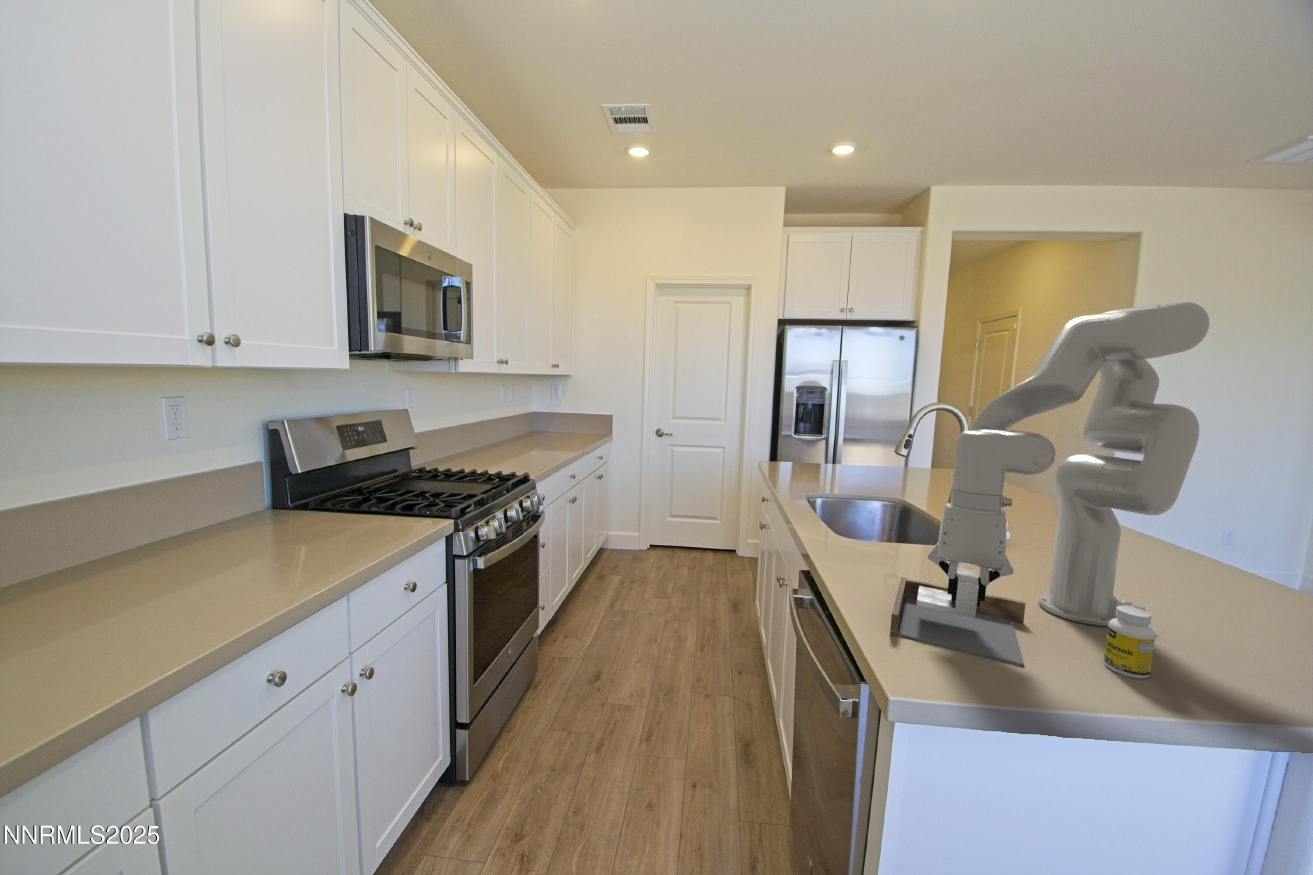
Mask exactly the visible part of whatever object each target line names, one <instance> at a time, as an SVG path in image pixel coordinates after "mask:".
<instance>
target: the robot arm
mask: <svg viewBox="0 0 1313 875" xmlns="http://www.w3.org/2000/svg"><path fill="white" fill-rule="evenodd" d="M1209 328H1210V318H1209V314H1208V313H1207V311H1206V310H1205V308H1204V307H1202V305H1200V304H1198V303H1195V302H1190V301H1183V302H1175V303H1174V302H1173V303H1172V302H1171V303H1165V304H1157V305H1156V304H1155V305H1149V306H1146V305H1145V306H1136V307H1135V306H1134V307H1128V308H1120V309H1115V310H1110V311H1106V312H1101V313H1094V314H1086V315H1082V316H1078V317H1075V318H1073V319H1070V320H1069V321H1067V323H1065V324H1063V327H1061V329H1060V331H1059V332H1058V333H1057V334H1056V336H1055V338H1054V339H1053V342H1051V344H1050V346H1049V348H1047V350H1046V352H1045V353H1044V355H1043V356H1042V358H1041V359H1040V361H1039V363H1038V364H1037V365H1036V367H1035V369H1034V370H1033V372H1032V373H1031V375H1030V376H1029V377H1028V378H1027V379H1025V380H1024V381H1021V382H1020V383H1018V384H1016V385H1015V386H1013V387H1012V388H1009V389H1008V390H1006V392H1003V393H1002V394H1001V395H999V396H998V397H996V398H994V399H993V400H992V401H990V402H989V403H988V404H987V405H986V406H984V408H983V409H981V411H980V412H979V414H978V415H977V417H976V418H975V419H974V421H973V423H972V424H971V425H970V427H969V429H968V430H965V431H961V432H960V433H959V435H958V437H957V440H956V441H957V442H956V448H955V460H954V468H953V477H952V478H953V479H952V489H951V496H950V503H946V504H945V505H944V506H945V507H944V508H943V513H942V515H941V520H940V527H939V533H938V540H937V543H936V544H935V545H934V547H932V549H930V551H929V553H928V554H927V558H928V560H929V561H931V562H932V563H934V564H935V565H937V566H939V567H940V569H941V570H942V571H943V572H944V573H945V574H946V576H947V577H948V583H947V587H948V591H947V594H951V601H956V593H957V583H958V577H957V570H958V568H959V564H960V565H961V564H962V565H968V566H973V567H978V568H979V577H978V583H979V588H978V597H977V606H978V607H980V601H985V594H986V590H987V586H988V585H989V584H990V583H992V582H994V581H995V580H997V579H999V578H1000V577H1001V578H1002V577H1007V576H1011V575H1013V574H1014V573H1015V571H1014V569H1013V566H1012V564H1011V562H1010V560H1009V558H1008V556H1007V553H1006V552H1007V517H1006V512H1005V510H1002V508H1004V507H1012V505H1013V498H1009V497H1006V496H1004V495H1003V493H1004V486H1005V475H1006V473H1011V474H1018V475H1023V476H1033V475H1038V474H1042V473H1045V472H1046V471H1047V470H1049V469H1050V468H1051V466H1052V465H1053V464H1054V462H1055V460H1056V452H1057V451H1056V448H1055V446H1054V444H1053V442H1052V441H1051V440H1050V439H1049V438H1047V437H1045V435H1042V434H1039V433H1035V432H1032V431H1031V432H1029V431H1020V430H1013V429H1011V428H1012V427H1013V426H1014V425H1016V424H1017V423H1019V422H1021V421H1023V420H1025V419H1027V418H1030V417H1032V416H1036V415H1039V414H1042V413H1046V412H1047V413H1048V412H1051V411H1055V410H1057V409H1061V408H1064V407H1067V406H1069V405H1072V404H1074V403H1077V402H1078V401H1080V399H1081V398H1083V396H1084V394H1085V393H1086V391H1087V390H1088V388H1089V386H1090V385H1091V383H1092V382H1093V380H1094V378H1095V377H1096V375H1097V374H1098V372H1100V377H1099V378H1100V379H1099V384H1098V387H1097V390H1096V392H1095V395H1094V398H1093V400H1092V404H1091V406H1090V409H1089V412H1088V414H1087V417H1086V420H1085V421H1084V422H1085V423H1084V427H1083V431H1082V432H1083V433H1082V435H1083V437H1082V438H1083V440H1084V442H1085V443H1086V444H1087V445H1089V446H1091V447H1092V448H1095V449H1099V450H1104V451H1109V452H1117V453H1124V454H1132V455H1142V456H1143V457H1142V460H1139V459H1133V458H1124V457H1118V456H1109V455H1102V454H1093V453H1081V454H1080V453H1079V454H1078V453H1077V454H1074V455H1071V456H1068V457H1066V458H1064V459H1063V460H1062V461H1061V462H1060V464H1059V465H1058V467H1057V469H1056V474H1055V484H1056V492H1057V499H1058V500H1057V501H1058V510H1057V511H1058V512H1057V524H1056V532H1055V540H1054V541H1055V542H1054V547H1053V557H1052V564H1051V565H1052V569H1051V576H1050V583H1049V593H1046V594H1045V593H1044V594H1041V595H1040V596H1038V604H1039V606H1040V607H1041V608H1043V609H1044V610H1046V611H1048V612H1049V613H1051V614H1053V615H1055V616H1058V617H1061V618H1063V619H1067V620H1069V621H1074V622H1077V623H1082V624H1086V625H1091V626H1099V627H1108V625H1109V621H1110V620H1112V619H1114V618H1117V616H1116V609H1117V606H1130V607H1135V608H1138V609H1142V610H1144V611H1146V612H1147V610H1146V606H1140V605H1134V604H1133V602H1132V601H1126V600H1119V599H1117V598H1116V596H1115V595H1114V590H1115V584H1116V574H1117V566H1118V559H1119V552H1120V543H1121V538H1122V537H1121V536H1122V531H1121V525H1120V522H1119V519H1118V518H1117V516H1116V515H1115V513H1114V511H1113V509H1115V510H1119V511H1125V512H1130V513H1134V514H1140V515H1144V516H1159V515H1160V516H1161V515H1164V514H1165V513H1166V512H1168V511H1169V510H1171V509H1172V507H1173V506H1174V505H1175V503H1176V502H1177V499H1178V497H1179V495H1180V492H1181V489H1182V488H1183V484H1184V481H1185V478H1186V476H1187V473H1188V470H1189V468H1190V465H1191V462H1192V459H1193V456H1194V454H1195V451H1196V448H1197V445H1198V442H1199V438H1200V424H1199V420H1198V417H1197V416H1196V414H1195V413H1194V412H1193V411H1192V410H1191V409H1189V408H1188V407H1185V406H1182V405H1177V404H1173V403H1172V404H1169V403H1154V402H1155V400H1156V395H1157V393H1158V390H1159V386H1160V378H1159V375H1158V373H1157V371H1156V369H1155V368H1154V367H1153V366H1152V365H1151V363H1150V362H1149V361H1148V360H1147V359H1155V358H1161V357H1165V356H1171V355H1175V354H1178V353H1179V354H1180V353H1183V352H1187V351H1190V350H1192V349H1194V348H1196V347H1197V346H1198V345H1200V344H1201V343H1202V341H1203V340H1204V339H1205V338H1206V336H1207V334H1208V332H1209Z"/></svg>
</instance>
